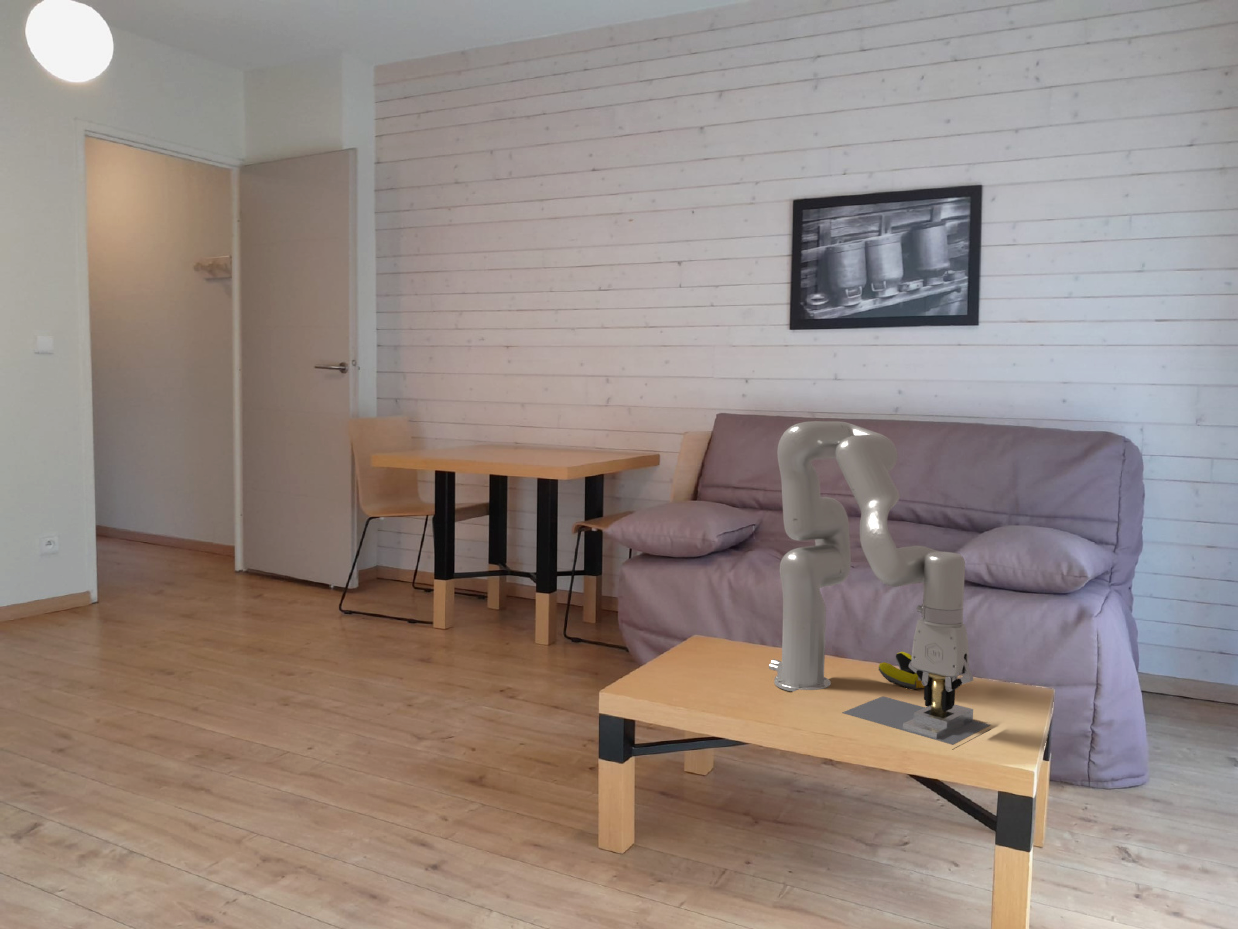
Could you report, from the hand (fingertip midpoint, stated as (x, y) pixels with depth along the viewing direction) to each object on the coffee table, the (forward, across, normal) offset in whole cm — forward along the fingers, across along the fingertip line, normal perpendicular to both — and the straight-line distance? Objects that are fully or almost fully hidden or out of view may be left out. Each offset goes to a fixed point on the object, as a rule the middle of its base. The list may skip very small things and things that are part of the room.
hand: (938, 706), depth 187 cm
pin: (+2, 0, 0) cm, 2 cm away
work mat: (+5, -5, 0) cm, 7 cm away
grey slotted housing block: (+4, 0, 0) cm, 4 cm away
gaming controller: (+5, -20, +24) cm, 32 cm away
